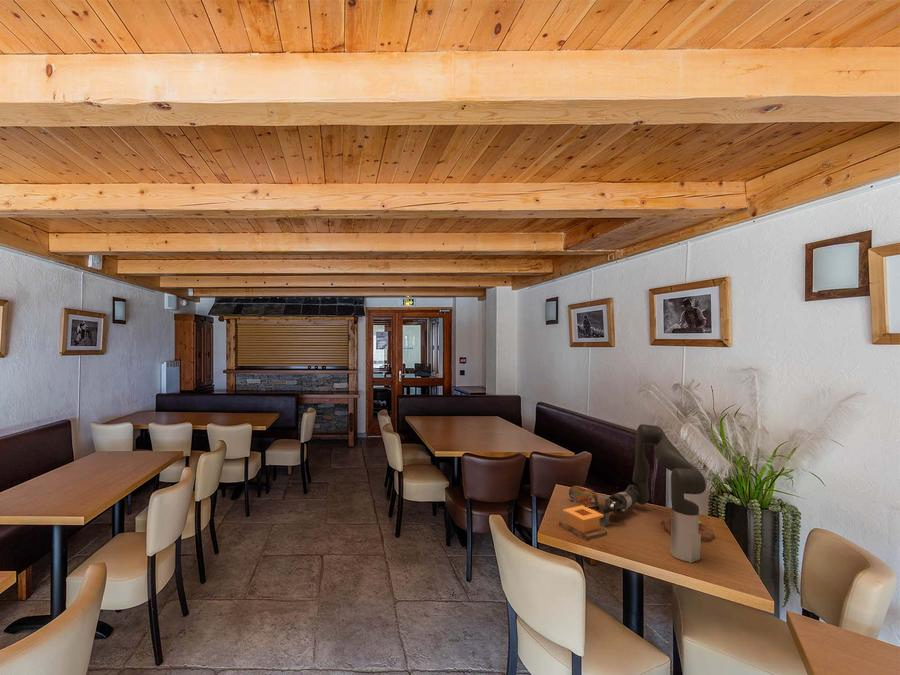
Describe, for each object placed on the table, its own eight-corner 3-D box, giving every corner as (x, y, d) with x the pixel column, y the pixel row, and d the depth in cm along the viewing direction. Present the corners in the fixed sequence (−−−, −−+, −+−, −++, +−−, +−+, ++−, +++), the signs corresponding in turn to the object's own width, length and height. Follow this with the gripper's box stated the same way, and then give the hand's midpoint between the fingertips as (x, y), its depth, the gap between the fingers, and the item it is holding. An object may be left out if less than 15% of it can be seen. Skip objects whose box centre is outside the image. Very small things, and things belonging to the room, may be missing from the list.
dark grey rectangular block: (609, 524, 192) (609, 497, 192) (604, 526, 189) (605, 499, 190) (601, 521, 194) (602, 495, 195) (597, 523, 192) (598, 496, 192)
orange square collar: (603, 529, 183) (603, 514, 183) (583, 534, 177) (583, 519, 177) (581, 518, 194) (582, 505, 194) (562, 523, 188) (562, 509, 188)
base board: (607, 534, 181) (607, 530, 182) (587, 540, 175) (587, 536, 176) (578, 520, 195) (578, 516, 195) (558, 525, 189) (559, 521, 189)
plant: (720, 546, 175) (721, 518, 175) (667, 537, 181) (667, 511, 181) (707, 526, 194) (708, 502, 194) (659, 519, 200) (660, 495, 200)
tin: (568, 500, 220) (568, 484, 220) (571, 499, 222) (572, 482, 222) (594, 510, 208) (595, 492, 208) (598, 508, 210) (598, 491, 210)
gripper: (606, 489, 207) (586, 496, 196) (635, 498, 196) (615, 506, 185) (605, 504, 207) (585, 513, 195) (634, 514, 196) (614, 523, 185)
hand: (600, 509), depth 190 cm, fingers closed on dark grey rectangular block, 3 cm apart
